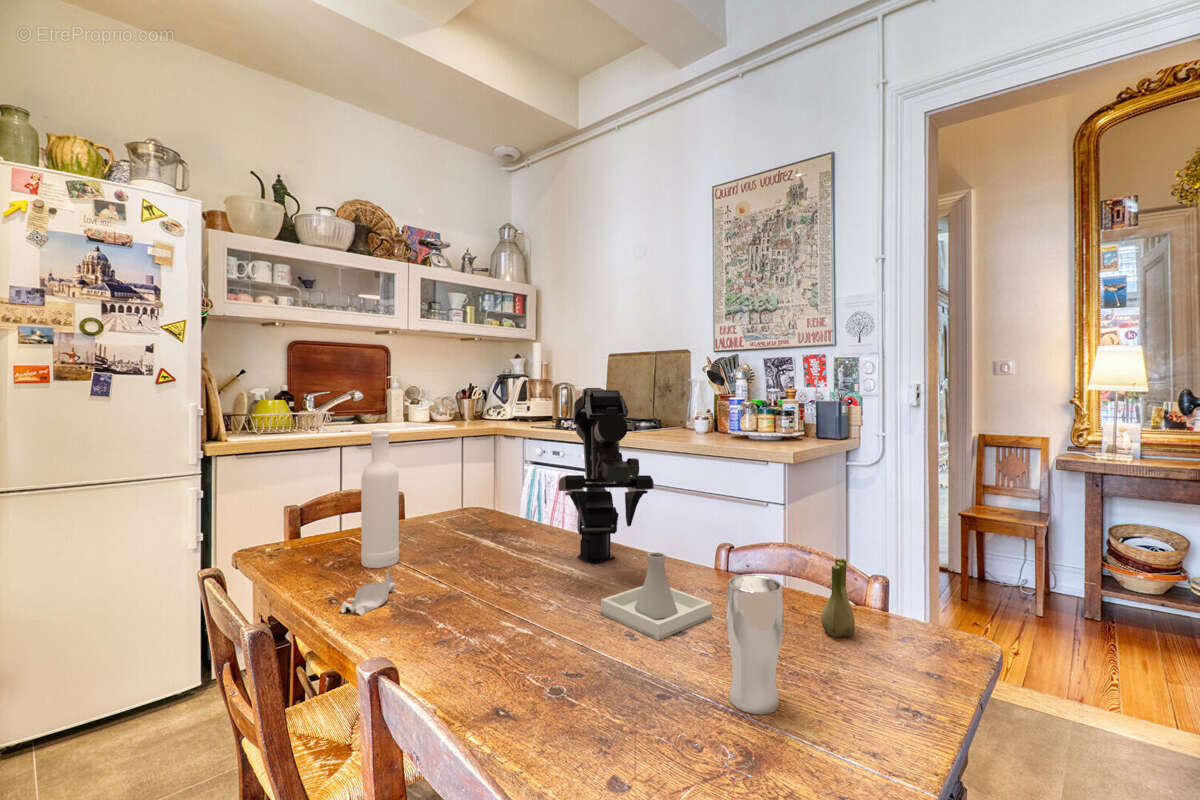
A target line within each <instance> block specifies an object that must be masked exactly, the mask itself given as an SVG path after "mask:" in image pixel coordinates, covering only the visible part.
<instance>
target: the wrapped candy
mask: <svg viewBox="0 0 1200 800" xmlns="http://www.w3.org/2000/svg"><path fill="white" fill-rule="evenodd" d="M395 588H396V585H395V583H394V578H393V576H392V575H391V574H390V570H389V569H387V570H386V571H385V581H380V582H374V583H367V584H363V585H362V586H360V587H358V588H357V589H356V591H355V594H354V597H350V598H349V597H348V598H347V601H348V602H349V601H351V602H352V603H348V602H347V601H346V600H344V601H343V602H342V604H341V607H340V611H339V614H344V613H346V612H347V610H349V611H350V616H351V615H352V614H353V613H354V612H355V613H356V614H358V615H359V616H360V617H362V616H364V615H366V613H369V612H371V611H372V610H376V609H377V608H379V607H381V606H382V605H383V604H385V603H386V602H387V601H388V599H389V598H388V597H389V594H390V593H389V592H392V593H394V592H395Z"/></svg>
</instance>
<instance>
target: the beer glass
mask: <svg viewBox="0 0 1200 800" xmlns="http://www.w3.org/2000/svg"><path fill="white" fill-rule="evenodd" d="M727 581H728V586H727V593H726V594H727V596H726V610H725V612H726V613H725V616H726V621H725V622H726V632H727V637H728V638H727V639H728V640H727V641H728V645H729V646H728V647H729V650H730V651H729V652H730V655H731V656H730V657H731V663H732V671H731V673H732V675H731V682H730V685H729V693H728V699H729V701H730V703H731V704H732V706H734V707H735V708H737V710H740V711H742V712H744V713H748V714H752V715H760V716H761V715H769V714H772V713H773V712H776V711H777V710H778V708H779V707H780V706H779V705H780V699H779V694H778V693H779V692H778V688H777V667H778V662H779V661H778V660H779V657H780V651H781V647H782V646H781V645H782V642H783V636H784V635H783V633H784V620H785V617H784V614H785V613H784V597H783V584H782V583H781V582H780V581H779V580H776V579H775V578H771V577H768V576H763V575H760V574H738V575H735V576H731V577H730V578H729V579H728V580H727Z"/></svg>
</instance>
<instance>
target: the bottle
mask: <svg viewBox="0 0 1200 800" xmlns="http://www.w3.org/2000/svg"><path fill="white" fill-rule="evenodd" d="M370 432H371V435H370V439H371V442H370V443H371V448H370V449H371V455H370V456H371V461H370V462H369V463H368V464H367V465H366V466H365V467H364V469H363V470H362V474H361V477H360V478H361V481H360V482H361V483H360V485H361V488H360V489H361V495H360V496H361V500H360V503H361V512H360V513H361V517H360V518H361V522H360V523H361V550H360V559H361V565H362V567H364V568H367V569H381V568H387V567H392V566H394V565H396V564H397V563H398V562H399V558H400V557H399V556H400V544H399V541H400V540H399V538H400V537H399V535H400V532H399V531H400V530H399V526H400V523H399V521H400V519H399V518H400V517H399V516H400V514H399V511H400V510H399V508H400V507H399V504H400V503H399V502H400V501H399V499H400V497H399V495H400V494H399V493H400V492H399V481H400V480H399V479H400V478H399V472H398V470H397V467H396V465H395V464H394V463H392V462H391V461H390V449H389V448H390V447H389V446H390V445H389V444H390V443H389V442H390V441H389V440H390V431H389V429H388V428H377V429H372V430H371V431H370Z"/></svg>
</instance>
